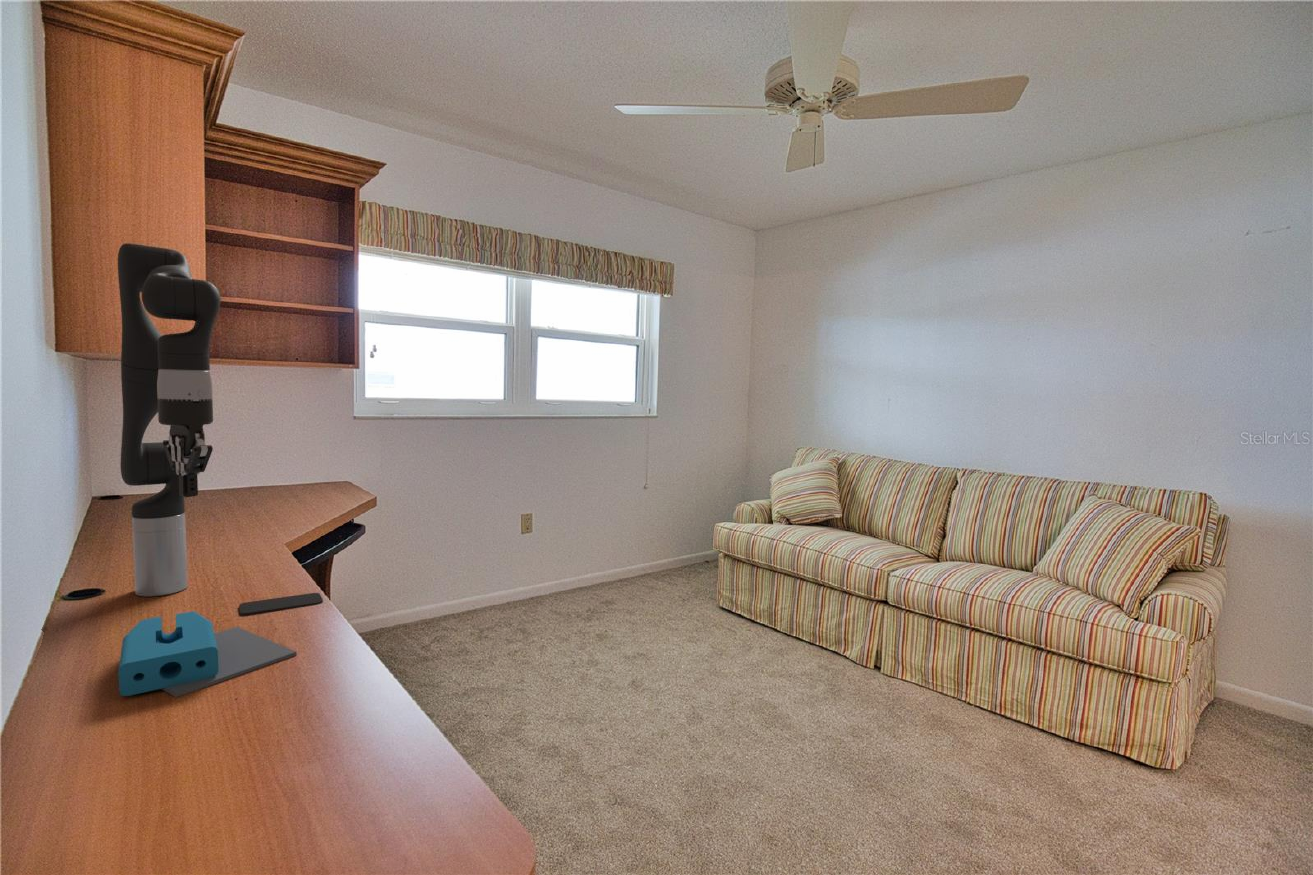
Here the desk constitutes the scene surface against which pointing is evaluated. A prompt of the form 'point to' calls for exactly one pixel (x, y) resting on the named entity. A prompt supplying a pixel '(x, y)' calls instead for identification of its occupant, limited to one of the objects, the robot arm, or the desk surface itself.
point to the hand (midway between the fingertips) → (188, 496)
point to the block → (167, 654)
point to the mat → (237, 658)
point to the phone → (279, 604)
